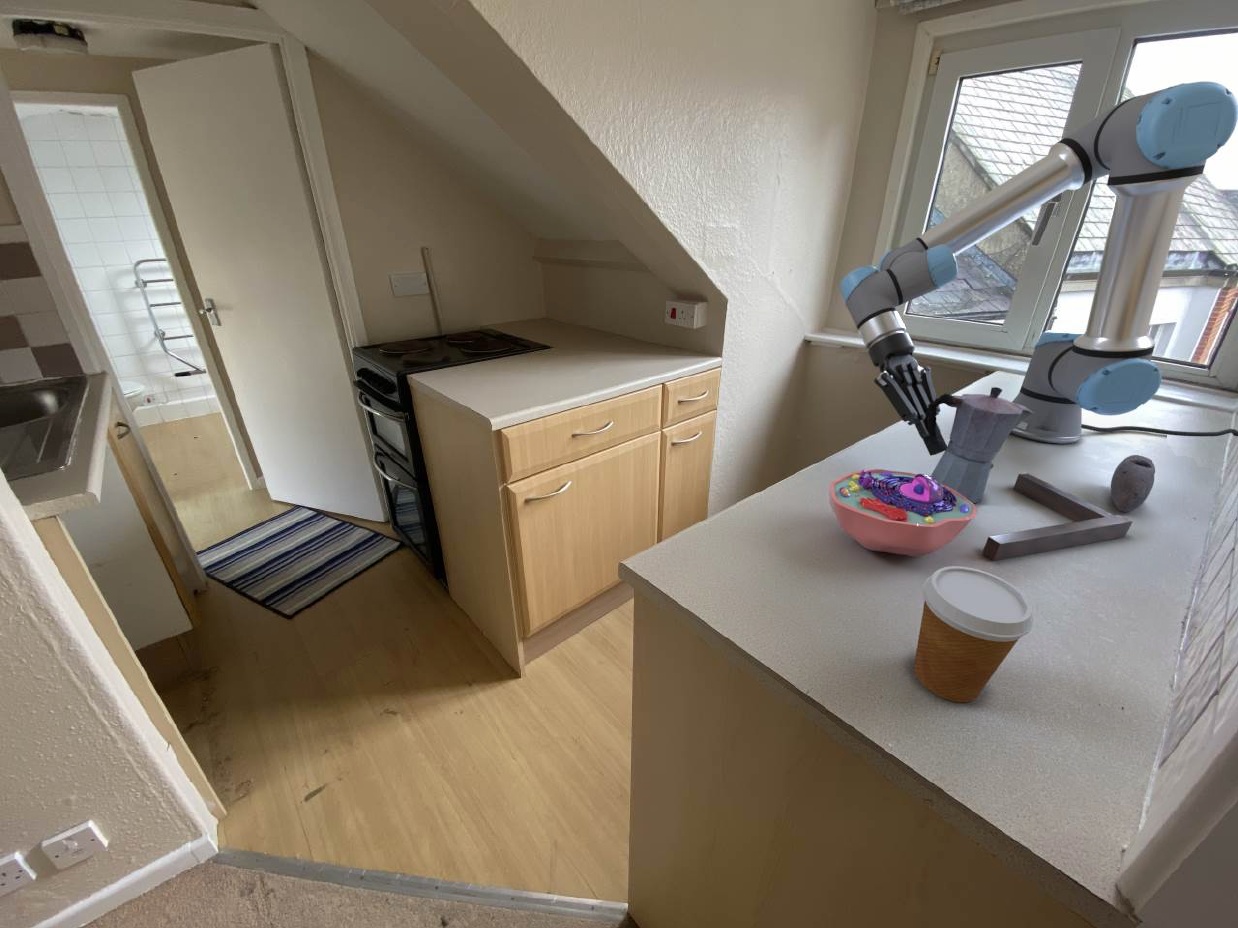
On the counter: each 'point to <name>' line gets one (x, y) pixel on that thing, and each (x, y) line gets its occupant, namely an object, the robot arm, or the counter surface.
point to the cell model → (899, 511)
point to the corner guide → (1085, 530)
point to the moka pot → (973, 439)
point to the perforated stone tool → (1132, 482)
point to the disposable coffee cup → (967, 630)
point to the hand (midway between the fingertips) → (939, 452)
